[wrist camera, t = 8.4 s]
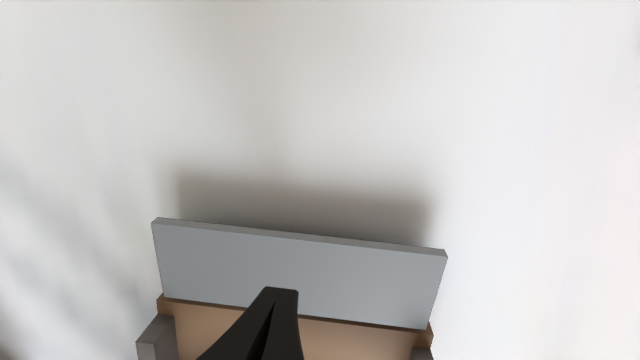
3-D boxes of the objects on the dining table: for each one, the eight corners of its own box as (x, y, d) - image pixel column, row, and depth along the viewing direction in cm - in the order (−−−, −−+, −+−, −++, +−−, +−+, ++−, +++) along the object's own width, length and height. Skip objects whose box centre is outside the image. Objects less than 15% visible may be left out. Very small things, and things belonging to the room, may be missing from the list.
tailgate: (425, 330, 16) (447, 256, 14) (163, 296, 17) (150, 223, 15) (420, 312, 17) (440, 242, 15) (175, 282, 18) (164, 211, 16)
